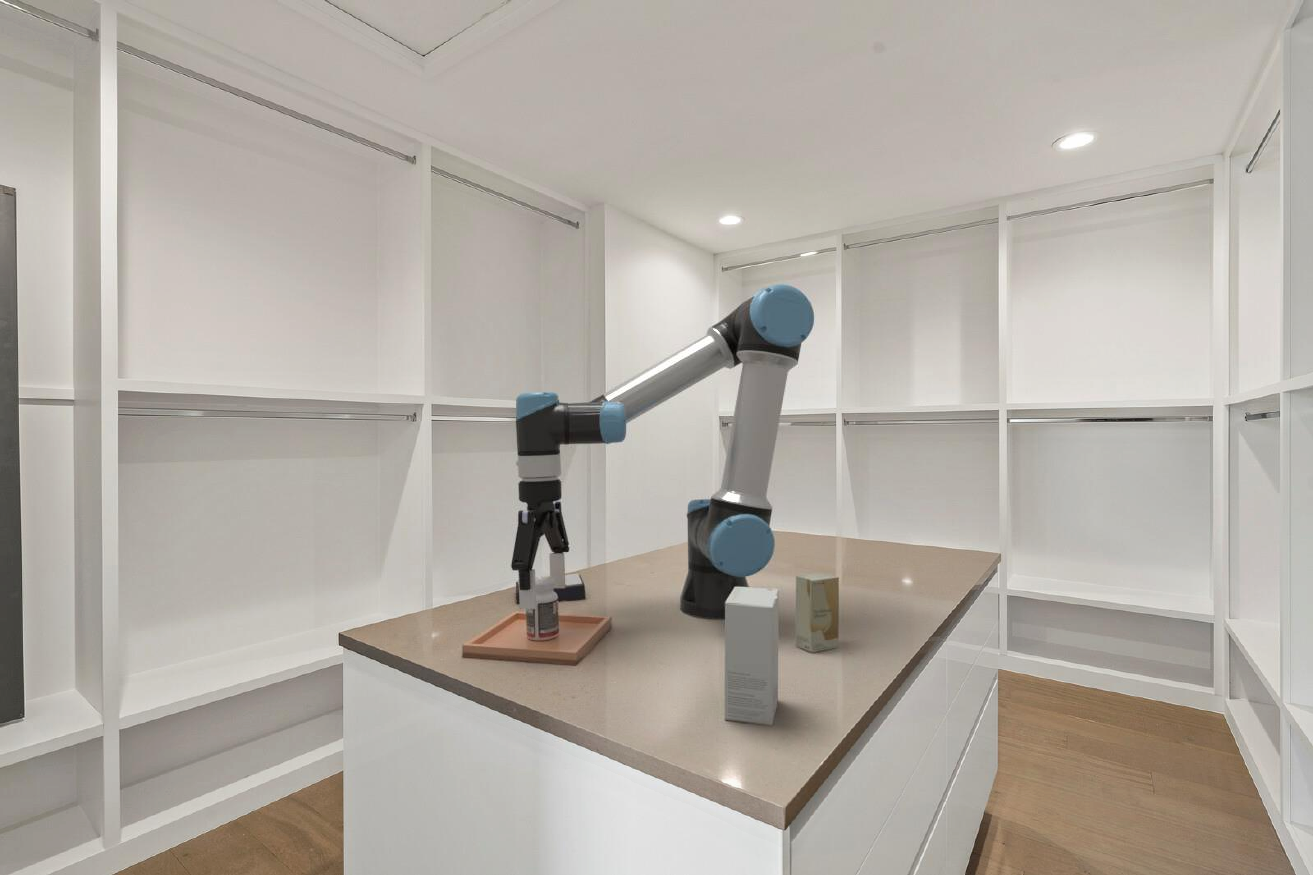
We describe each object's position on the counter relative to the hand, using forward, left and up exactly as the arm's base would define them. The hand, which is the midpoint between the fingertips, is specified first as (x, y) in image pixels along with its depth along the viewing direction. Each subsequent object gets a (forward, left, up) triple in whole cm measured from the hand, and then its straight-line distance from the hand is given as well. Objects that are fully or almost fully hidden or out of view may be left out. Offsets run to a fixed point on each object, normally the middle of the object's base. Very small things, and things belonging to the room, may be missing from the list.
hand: (543, 597), depth 114 cm
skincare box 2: (-48, -6, -8) cm, 49 cm away
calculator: (+11, -29, -8) cm, 33 cm away
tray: (0, 0, -8) cm, 8 cm away
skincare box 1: (-39, +21, -8) cm, 45 cm away
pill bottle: (0, 0, -7) cm, 7 cm away
